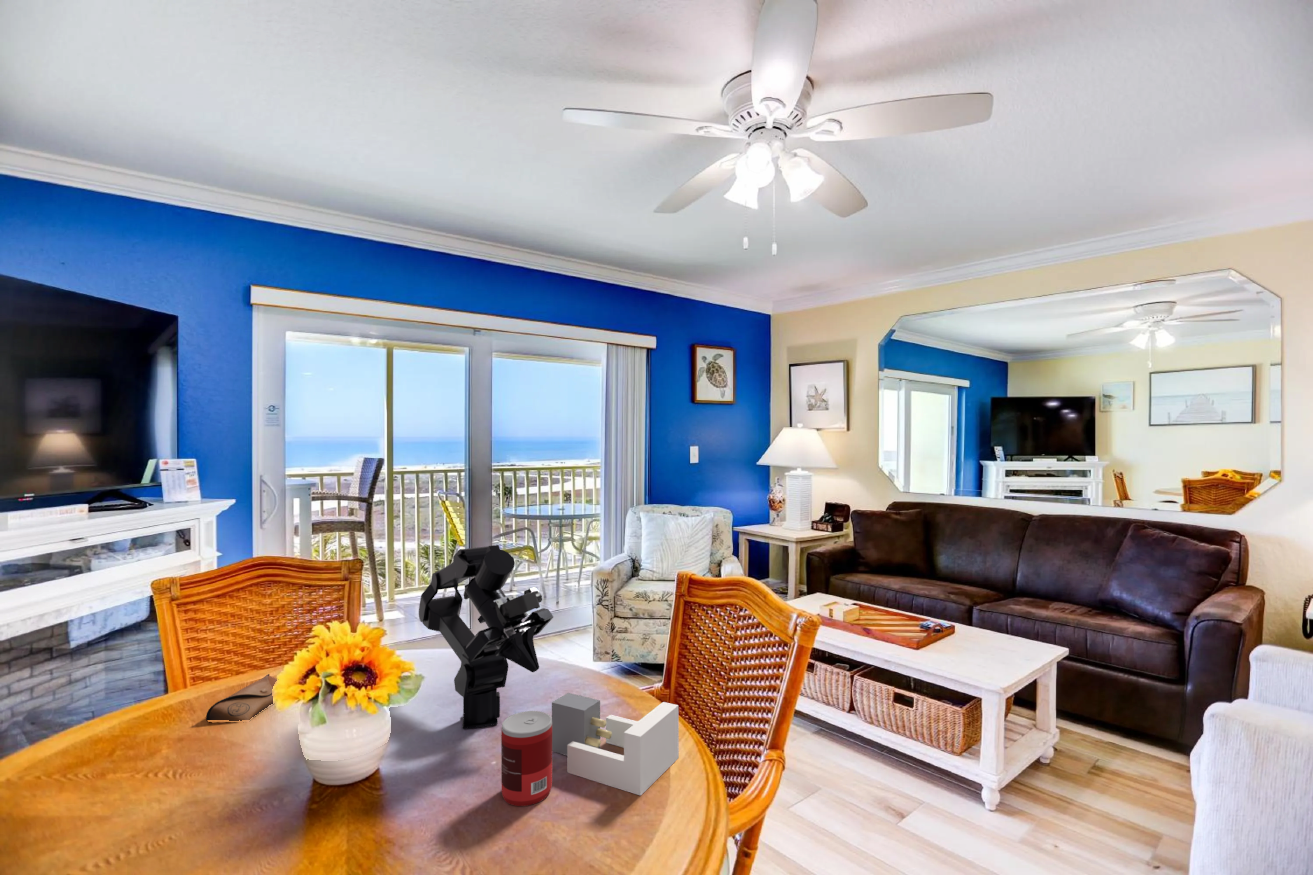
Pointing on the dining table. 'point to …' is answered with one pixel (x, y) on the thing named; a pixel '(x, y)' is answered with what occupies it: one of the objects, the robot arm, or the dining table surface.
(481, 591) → the robot arm
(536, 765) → the canned food
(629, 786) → the socket
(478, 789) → the dining table surface
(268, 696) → the sunglasses case
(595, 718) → the plug
